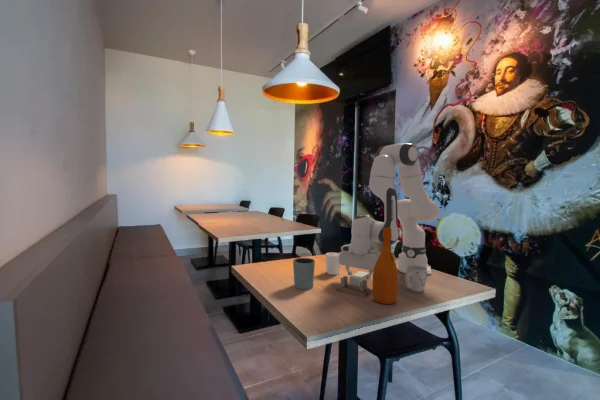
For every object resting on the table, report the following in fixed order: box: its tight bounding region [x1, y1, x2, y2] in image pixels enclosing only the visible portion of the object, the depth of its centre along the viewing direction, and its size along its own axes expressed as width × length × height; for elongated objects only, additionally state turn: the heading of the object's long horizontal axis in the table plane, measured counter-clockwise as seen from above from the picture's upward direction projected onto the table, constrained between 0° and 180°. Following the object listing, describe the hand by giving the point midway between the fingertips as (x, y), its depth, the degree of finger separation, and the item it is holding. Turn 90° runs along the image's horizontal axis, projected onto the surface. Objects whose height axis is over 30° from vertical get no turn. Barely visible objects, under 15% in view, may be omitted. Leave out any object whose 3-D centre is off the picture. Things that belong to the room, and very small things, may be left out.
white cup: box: [325, 251, 341, 276], centre depth 159 cm, size 8×8×10 cm
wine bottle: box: [372, 227, 399, 305], centre depth 122 cm, size 10×10×30 cm
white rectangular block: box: [348, 270, 370, 286], centre depth 145 cm, size 12×5×4 cm, turn 146°
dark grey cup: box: [292, 257, 316, 290], centre depth 138 cm, size 10×10×12 cm
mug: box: [404, 265, 427, 293], centre depth 136 cm, size 11×8×10 cm
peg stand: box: [335, 275, 372, 298], centre depth 133 cm, size 8×13×5 cm, turn 57°
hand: (358, 277), depth 144 cm, fingers open, 8 cm apart
